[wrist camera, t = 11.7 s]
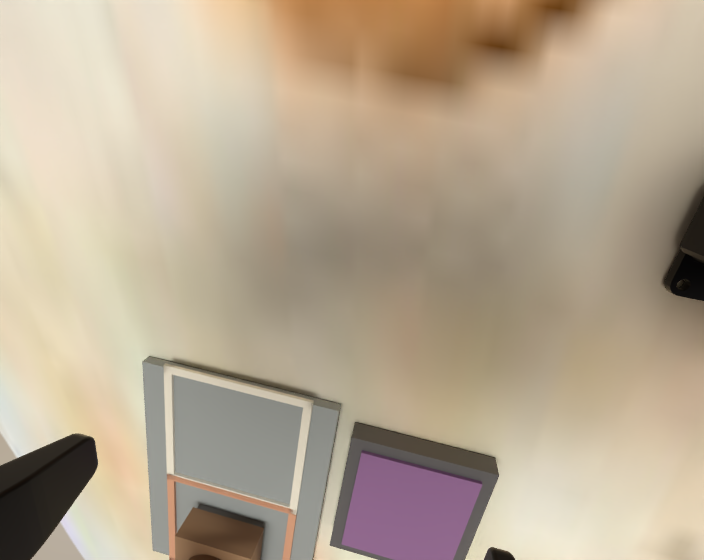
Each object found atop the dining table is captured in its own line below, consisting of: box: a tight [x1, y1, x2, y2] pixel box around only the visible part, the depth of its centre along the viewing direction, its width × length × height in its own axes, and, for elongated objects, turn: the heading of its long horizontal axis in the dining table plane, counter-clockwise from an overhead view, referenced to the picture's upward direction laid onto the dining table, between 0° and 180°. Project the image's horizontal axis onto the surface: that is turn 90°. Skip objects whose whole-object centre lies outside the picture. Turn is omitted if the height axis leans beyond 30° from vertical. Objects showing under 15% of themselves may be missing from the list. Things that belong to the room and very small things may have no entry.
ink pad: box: [330, 422, 499, 560], centre depth 23 cm, size 8×9×1 cm
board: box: [142, 356, 341, 560], centre depth 25 cm, size 12×18×1 cm
